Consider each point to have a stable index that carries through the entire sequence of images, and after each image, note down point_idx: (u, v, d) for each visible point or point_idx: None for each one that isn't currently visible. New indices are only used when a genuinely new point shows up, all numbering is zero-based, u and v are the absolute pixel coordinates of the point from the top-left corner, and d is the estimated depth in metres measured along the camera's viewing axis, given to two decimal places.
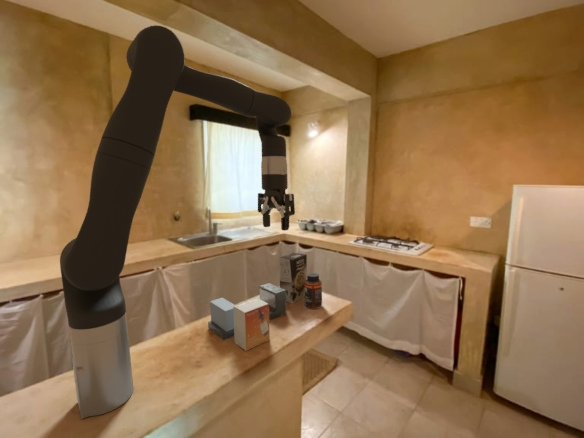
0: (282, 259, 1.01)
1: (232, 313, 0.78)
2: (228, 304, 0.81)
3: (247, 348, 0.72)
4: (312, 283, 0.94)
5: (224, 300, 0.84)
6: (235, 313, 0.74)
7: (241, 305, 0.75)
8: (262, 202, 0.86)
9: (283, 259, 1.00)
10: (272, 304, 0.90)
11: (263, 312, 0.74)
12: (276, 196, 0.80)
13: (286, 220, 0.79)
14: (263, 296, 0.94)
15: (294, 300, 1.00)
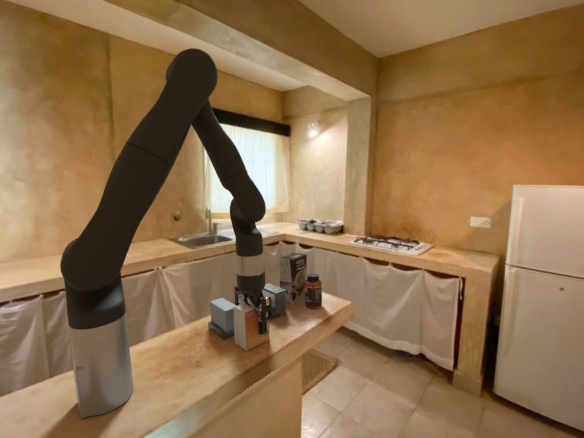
0: (282, 259, 1.01)
1: (232, 313, 0.78)
2: (228, 304, 0.81)
3: (247, 348, 0.72)
4: (312, 283, 0.94)
5: (224, 300, 0.84)
6: (235, 313, 0.74)
7: (241, 305, 0.75)
8: (239, 295, 0.79)
9: (283, 259, 1.00)
10: (272, 304, 0.90)
11: None
12: (252, 297, 0.73)
13: (263, 324, 0.72)
14: None
15: (294, 300, 1.00)
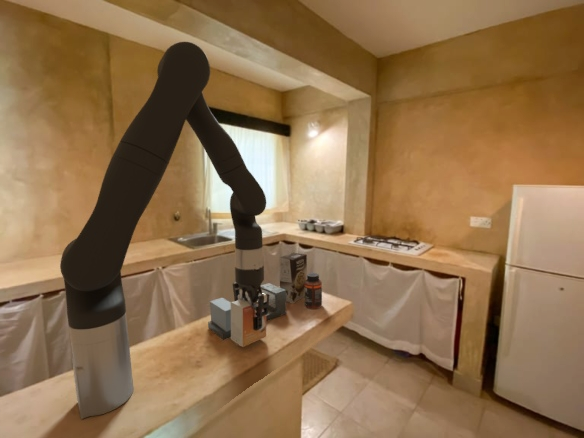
0: (282, 259, 1.01)
1: None
2: (228, 304, 0.81)
3: (244, 344, 0.71)
4: (312, 283, 0.94)
5: (224, 300, 0.84)
6: (232, 309, 0.73)
7: (238, 301, 0.74)
8: (238, 292, 0.78)
9: (283, 259, 1.00)
10: (272, 304, 0.90)
11: None
12: (251, 292, 0.72)
13: (258, 320, 0.72)
14: None
15: (294, 300, 1.00)
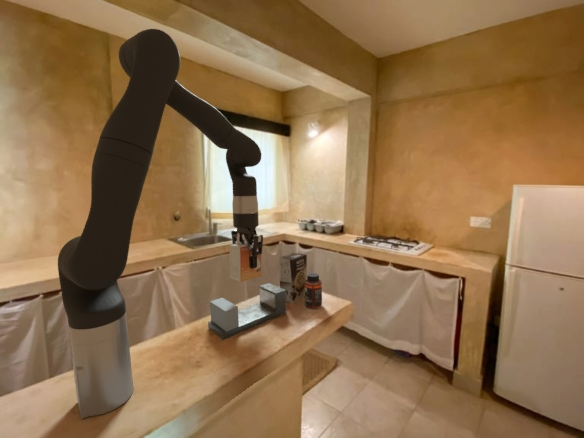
0: (282, 259, 1.01)
1: (232, 313, 0.78)
2: (228, 304, 0.81)
3: (241, 280, 0.81)
4: (312, 283, 0.94)
5: (224, 300, 0.84)
6: (231, 250, 0.83)
7: (236, 244, 0.84)
8: (236, 239, 0.88)
9: (283, 259, 1.00)
10: (272, 304, 0.90)
11: None
12: (247, 235, 0.82)
13: (254, 259, 0.82)
14: (263, 296, 0.94)
15: (294, 300, 1.00)
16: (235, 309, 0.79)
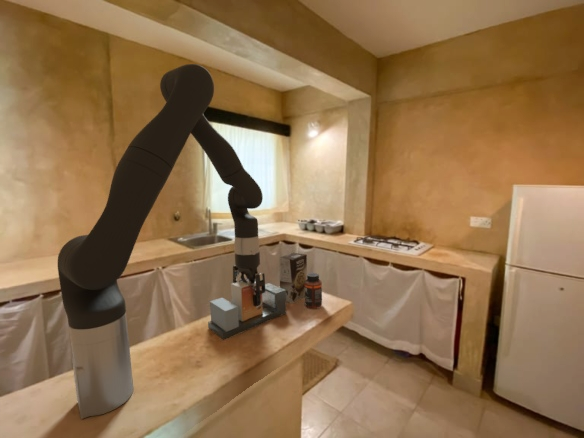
0: (282, 259, 1.01)
1: (232, 313, 0.78)
2: (228, 304, 0.81)
3: (243, 319, 0.83)
4: (312, 283, 0.94)
5: (224, 300, 0.84)
6: (232, 290, 0.85)
7: (237, 283, 0.86)
8: (237, 274, 0.90)
9: (283, 259, 1.00)
10: (272, 304, 0.90)
11: None
12: (248, 274, 0.84)
13: (257, 297, 0.83)
14: (263, 296, 0.94)
15: (294, 300, 1.00)
16: (235, 309, 0.79)
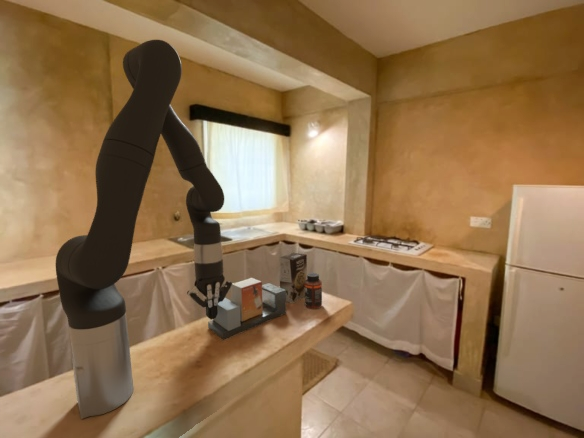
0: (282, 259, 1.01)
1: (234, 312, 0.79)
2: (230, 303, 0.81)
3: (243, 319, 0.83)
4: (312, 283, 0.94)
5: (226, 299, 0.84)
6: (232, 290, 0.85)
7: (237, 283, 0.86)
8: (222, 289, 0.81)
9: (283, 259, 1.00)
10: (272, 304, 0.90)
11: (256, 288, 0.86)
12: None
13: (206, 309, 0.78)
14: (263, 296, 0.94)
15: (294, 300, 1.00)
16: (237, 308, 0.79)
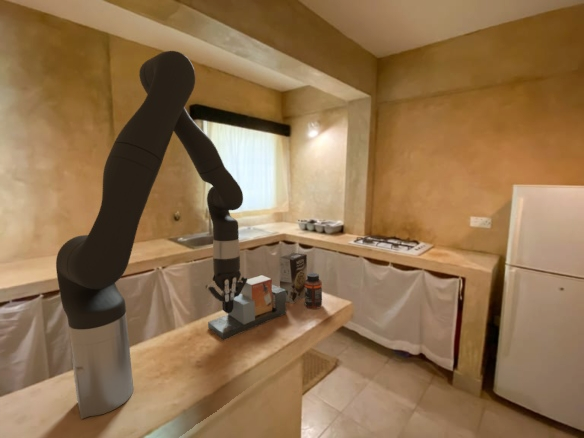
0: (282, 259, 1.01)
1: (249, 307, 0.82)
2: (245, 298, 0.85)
3: None
4: (312, 283, 0.94)
5: (240, 295, 0.88)
6: None
7: (248, 280, 0.88)
8: (237, 284, 0.85)
9: (283, 259, 1.00)
10: (272, 304, 0.90)
11: (266, 285, 0.88)
12: None
13: (223, 303, 0.82)
14: None
15: (294, 300, 1.00)
16: (252, 303, 0.83)
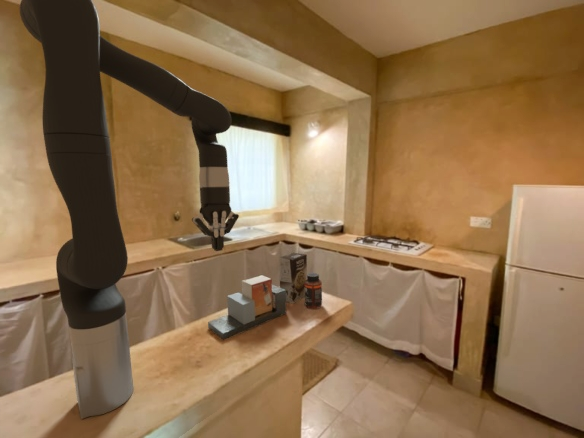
0: (282, 259, 1.01)
1: (249, 307, 0.82)
2: (245, 298, 0.85)
3: None
4: (312, 283, 0.94)
5: (240, 295, 0.88)
6: (243, 286, 0.87)
7: (248, 280, 0.88)
8: (228, 221, 0.77)
9: (283, 259, 1.00)
10: (272, 304, 0.90)
11: (266, 286, 0.88)
12: None
13: (212, 240, 0.74)
14: None
15: (294, 300, 1.00)
16: (252, 303, 0.83)
